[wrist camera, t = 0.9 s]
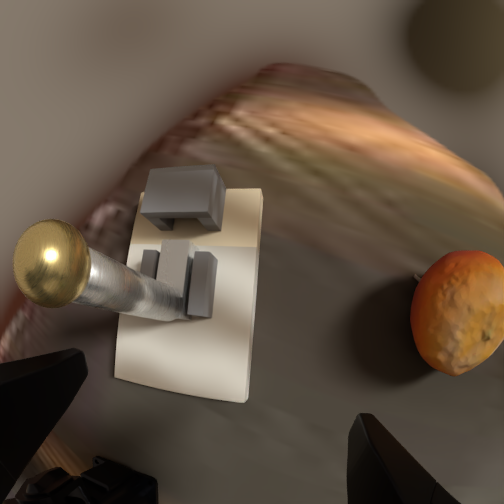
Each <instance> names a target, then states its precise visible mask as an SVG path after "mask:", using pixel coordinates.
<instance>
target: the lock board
mask: <svg viewBox="0 0 504 504" xmlns="http://www.w3.org/2000/svg"><path fill="white" fill-rule="evenodd" d="M262 207H263V196H262V192H261V189H226V187H225V185H224V183H223V181H222V179H221V177H220V175H219V172H218V170H217V168H216V166H215V164H214V165H196V166H182V167H169V168H158V169H150V173H149V177H148V181H147V185H146V189H145V193H141V197H140V201H139V205H138V210H137V214H136V219H135V223H134V228H133V233H132V238H131V243H130V248H129V254H128V259H127V265H126V266H128V267H130V268H132V269H134V270H136V271H138V272H140V273H142V274H145V275H147V276H149V277H151V278H153V279H155V280H156V278H157V271H158V264H159V257H160V251H161V245H162V240H190V241H191V242H193V243H194V244H195V245H196V246H197V247H198V248H199V249H200V250H199V251H195V253H194V260H193V268H192V277H191V285H190V294H189V303H188V313H187V314H189V315H192V320H183V319H174V320H172V321H161V320H155V319H150V318H144V317H139V316H133V315H128V314H123V313H120V314H119V323H118V333H117V345H116V359H115V377H116V378H120V379H123V380H127V381H130V382H134V383H138V384H142V385H146V386H150V387H154V388H159V389H163V390H168V391H173V392H177V393H183V394H188V395H193V396H199V397H205V398H211V399H218V400H225V401H232V402H240V403H245V402H246V400H247V399H248V393H249V381H250V368H251V356H252V343H253V330H254V317H255V304H256V290H257V277H258V263H259V249H260V235H261V221H262Z"/></svg>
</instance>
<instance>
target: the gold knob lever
mask: <svg viewBox="0 0 504 504" xmlns="http://www.w3.org/2000/svg"><path fill="white" fill-rule="evenodd" d="M199 250H200V249H199V248H198V247H197V246H196V245H195V244H194V243H193V242H191V241H190V240H162V245H161V251H160V257H159V264H158V271H157V278H156V280H155V279H153V278H151V277H149V276H147V275H145V274H142V273H140V272H138V271H136V270H134V269H132V268H130V267H128V266H126V265H123V264H121V263H119V262H117V261H115V260H113V259H111V258H109V257H107V256H105V255H103V254H101V253H99V252H97V251H95V250H93V249H91V248H89V247H88V245H87V243H86V241H85V239H84V237H83V236H82V235H81V233H80V232H79V231H78V230H77V229H76V228H75V227H73V226H72V225H70V224H69V223H66V222H64V221H61V220H57V219H46V220H42V221H39V222H36V223H35V224H33V225H31V226H30V227H29V228H27V229H26V230H25V231H24V233H23V234H22V235H21V237H20V238H19V240H18V242H17V244H16V246H15V250H14V254H13V272H14V276H15V280H16V282H17V284H18V286H19V288H20V289H21V291H22V293H23V294H24V295H25V296H26V297H27V298H28V299H29V300H30V301H32V302H33V303H35V304H37V305H39V306H42V307H46V308H60V307H63V306H66V305H68V304H70V303H72V302H73V303H77V304H82V305H86V306H90V307H95V308H99V309H104V310H108V311H113V312H118V313H123V314H128V315H133V316H139V317H144V318H150V319H155V320H161V321H172V320H174V319H183V320H192V315H189V314H187V313H188V303H189V294H190V285H191V277H192V268H193V260H194V253H195V251H199Z"/></svg>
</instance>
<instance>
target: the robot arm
mask: <svg viewBox="0 0 504 504" xmlns="http://www.w3.org/2000/svg"><path fill="white" fill-rule="evenodd" d="M87 375H88V367H87V362H86V357H85V354H84V352H83V351H81V350H79V349H76V348H70V349H66V350H62V351H58V352H53V353H49V354H44V355H40V356H35V357H30V358H26V359H21V360H16V361H11V362H6V363H1V364H0V504H158V483H157V480H156V479H155V478H153V477H151V476H148V475H145V474H142V473H139V472H136V471H133V470H132V469H130V468H127V467H124V466H122V465H119V464H117V463H114V462H112V461H110V460H106V459H104V458H101V457H99V456H96V457H94V458H93V468H92V469H89V470H87V471H85V472H83V473H81V474H80V475H81V477H80V476H70V475H69V473H67V472H66V471H65V470H63V469H62V468H61V467H55V468H52V469H49V470H47V471H44V472H42V473H40V474H38V475H36V476H35V477H33V478H29V479H26V481H25V482H24V483H23V485H22V486H21V488H20V489H19V491H18V492H17V494H16V495H15V498H12V499H6V500H5V498H6V497H7V495H8V494H9V492H10V491H11V489H12V487H13V486H14V484H15V483H16V481H17V479H18V478H19V476H20V475H21V473H22V472H23V470H24V469H25V467H26V466H27V465H28V463H29V462H30V460H31V459H32V457H33V456H34V454H35V453H36V451H37V450H38V449H39V447H40V446H41V444H42V443H43V441H44V440H45V439H46V437H47V436H48V434H49V433H50V432H51V430H52V429H53V428H54V426H55V425H56V423H57V422H58V421H59V419H60V418H61V417H62V415H63V414H64V413H65V411H66V410H67V408H68V407H69V406H70V404H71V402H72V401H73V399H74V397H75V396H76V394H77V392H78V390H79V389H80V387H81V385H82V384H83V382H84V380H85V379H86V377H87ZM97 460H98V461H99V462H98V461H97ZM150 481H151V482H152V483H153V484H152V483H151V482H150ZM347 495H348V504H461V503H460V502H458V501H457V500H456V499H455V498H454V497H453V496H452V495H450V494H449V493H448V492H447V491H446V490H445V489H444V488H443V487H442V486H441V485H440V484H439V483H438V482H436V480H435V479H434V478H433V477H432V476H431V475H430V474H429V473H428V472H427V471H426V470H425V469H424V468H423V467H422V466H421V465H420V464H419V463H418V462H417V461H416V459H415V458H414V457H413V456H412V455H411V454H410V453H409V452H408V451H407V450H406V449H405V448H404V447H403V446H402V445H401V444H400V443H399V442H398V441H397V440H396V439H395V438H394V437H393V436H392V434H391V433H390V432H389V431H388V430H387V429H386V428H385V427H384V426H383V425H382V424H381V423H380V422H379V421H378V420H377V419H376V418H375V416H374V415H372V414H370V413H360V414H358V415H357V417H356V419H355V421H354V423H353V425H352V427H351V429H350V432H349V436H348V459H347Z"/></svg>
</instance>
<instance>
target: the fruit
mask: <svg viewBox="0 0 504 504" xmlns="http://www.w3.org/2000/svg"><path fill="white" fill-rule="evenodd" d="M413 277H414V278H415V279H416V280H417V281H418V282H419V283H418V285H417V287H416V289H415V292H414V296H413V300H412V304H411V314H410V323H411V328H412V333H413V337H414V340H415V344H416V347H417V349H418V351H419V353H420V355H421V357H422V358H423V359H424V360H425V361H426V362H427V363H428V364H429V365H430V366H432V367H433V368H434V369H436V370H439V371H441V372H443V373H446V374H449V375H450V376H458V375H460V374H462V373H464V372H466V371H469V370H471V369H472V368H474V367H475V366H477V365H479V364H480V363H482V362H483V361H484V360H486V359H487V358H488V357H489V356H490V355H491V354H492V353H493V352H494V351H495V350H496V349H497V347H498V346H499V345H500V344H501V342H502V341H503V340H504V268H503V266H502V265H501V263H500V262H499V261H498V260H497V259H496V258H494V257H493V256H491V255H489V254H487V253H485V252H482V251H455V252H451V253H448V254H446V255H445V256H443V257H442V258H440V259H439V260H438V261H437V262H435V263H434V264H433V265H432V266H431V267H430V268H429V269H428V270H427V271H426V272H425V274H424V275H423V277H422V278H420V277H418V276H417V275H416V274H415V276H413Z"/></svg>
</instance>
